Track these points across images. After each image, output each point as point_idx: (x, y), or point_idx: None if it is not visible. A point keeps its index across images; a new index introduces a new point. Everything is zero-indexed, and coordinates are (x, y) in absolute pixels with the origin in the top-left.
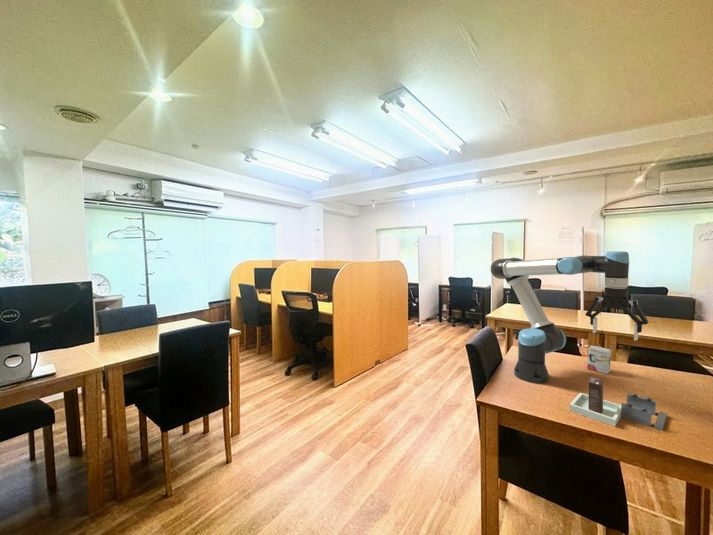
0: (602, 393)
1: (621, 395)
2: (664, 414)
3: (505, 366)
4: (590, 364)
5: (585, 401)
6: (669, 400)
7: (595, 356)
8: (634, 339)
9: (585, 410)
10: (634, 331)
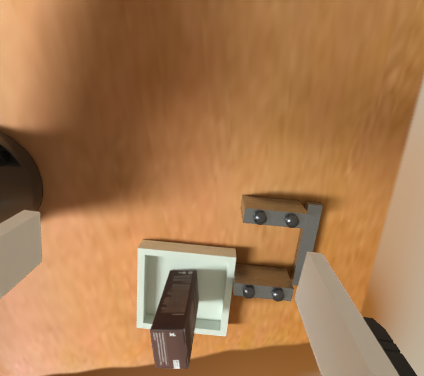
0: (191, 317)
1: (225, 139)
2: (317, 215)
3: None
4: None
5: (158, 258)
6: (342, 74)
7: None
8: (299, 304)
9: None
10: (318, 361)
